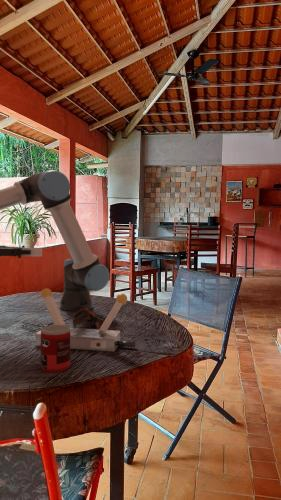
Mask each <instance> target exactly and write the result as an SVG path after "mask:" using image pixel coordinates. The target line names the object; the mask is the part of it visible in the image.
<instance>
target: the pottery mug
mask: <svg viewBox="0 0 281 500" xmlns="http://www.w3.org/2000/svg"><path fill="white" fill-rule="evenodd" d="M85 320H86V321H87V323H93V325H94V326H96V329H98V330H99V329H100V323H99V320H98V317H97V315H96V313H95V312H94V310H93V309H92V308H91V309H88V308H84V309H81V310H79V311H76V313H74V314H73V316H72V317H71V321H72V326H73V328H76V326H78V325H85Z"/></svg>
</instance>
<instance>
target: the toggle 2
mask: <svg viewBox="0 0 281 500" xmlns="http://www.w3.org/2000/svg"><path fill="white" fill-rule="evenodd" d="M115 300H116V301H115V303H114V304H113V306H112V307H111V309H110V311H109V313H108V314H107V317H106V318H105V319H104V321H103V323H102V324H101V326H100V327H99V328H98V330H99V335H102V334H104V333H105V332H106V331H107V330H109V328H110V326H111V324H112V322H113V320H114V319H115V317H116V316H117V314H118V312H119V311H120V309H121V308H122V306H123V305H125V304H126V303H127V302H128V297H127V295H126V294H125V293H119V294H117V295H116V297H115Z"/></svg>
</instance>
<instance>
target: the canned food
mask: <svg viewBox="0 0 281 500" xmlns="http://www.w3.org/2000/svg"><path fill="white" fill-rule="evenodd" d="M65 325H66V324H65ZM65 325H55V324H52V325H45V326H43V327H41V329H40V331H41V346H40V366H41V369H42V371H44V372H47V373H60V372H64V371H66V370H68V369H69V368H70V366H71V348H70V328H71V327H70V326H68V325H66V326H65Z"/></svg>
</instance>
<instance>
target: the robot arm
mask: <svg viewBox="0 0 281 500" xmlns="http://www.w3.org/2000/svg"><path fill="white" fill-rule="evenodd" d="M70 192H71V183H70V181H69V178H68V177H67V176H66V174H64V173H63V172H62V171H59V170H54V169H50V170H44V171H41V172H37V173H34V174H32V175H30V176H28V177H25V178H24V179H21V180H19V181H15V182H14V183H13V184H12V186H8V187H5V188H2V189H0V211H3V210H5V209H8V208H11V207H13V206H16V205H19V204H21V205H26V204H30V203H35V202H41V204H42V206H43V209H44V210H46V211H48V212H49V213H50V214H51V217H52V218H53V221H54V223H55V225H56V227H57V230H58V232H59V233H60V235H61V238H62V240H63V242H64V244H65V247H66V248H67V250H68V252H69V254H70V256H71V258H67V259H65V260H64V262H63V293H62V296H61V299H60V301H59V302H60V303H59V308H60V310H64V311H68V312H70V311H71V312H78V311H79V310H81V309H84V308H88V309H92V308H94V307H93V306H94V305H93V304H94V302H93V299H92V296H91V294H90V293H91V292H90V291H92V292H93V291H94V292H98V291H101V290H102V289H104V288H105V287H106V286H107V285H108V283H109V279H110V271H109V268H108V267H107V266H105V265H104V264H102V263H101V260H100V259H99V256H98V255H97V254H94V253H93V252H92V250H91V248H90V245H89V243H88V241H87V239H86V236H85V234H84V232H83V230H82V228H81V226H80V224H79V220H78V219H77V216H76V215H75V212H74V209H73V207H72V206H71V201H72V196H71V193H70ZM0 257H17V258H18V259H21V258H22V257H36V258H37V257H43V248H41V247H25V245H21V246H7V245H0Z"/></svg>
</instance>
